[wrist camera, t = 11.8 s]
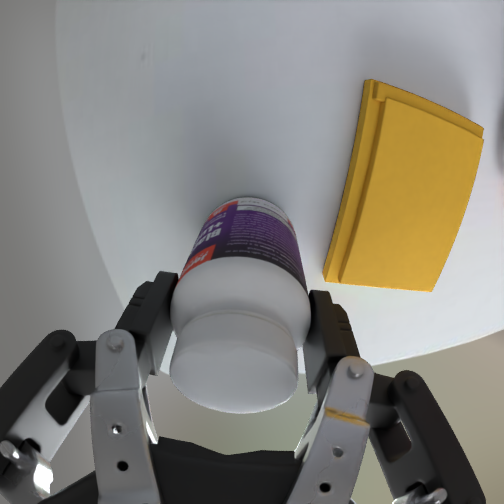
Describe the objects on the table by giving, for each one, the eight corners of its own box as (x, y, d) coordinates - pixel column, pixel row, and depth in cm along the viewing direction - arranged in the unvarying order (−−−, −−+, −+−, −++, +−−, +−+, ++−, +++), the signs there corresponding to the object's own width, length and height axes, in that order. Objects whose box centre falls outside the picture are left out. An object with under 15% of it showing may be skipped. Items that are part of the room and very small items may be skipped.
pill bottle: (214, 183, 15) (151, 297, 6) (309, 211, 15) (357, 346, 7) (194, 265, 17) (145, 402, 9) (276, 288, 18) (283, 430, 9)
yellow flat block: (322, 273, 18) (326, 288, 16) (364, 79, 12) (375, 77, 10) (421, 283, 18) (430, 297, 17) (471, 124, 12) (487, 128, 11)
